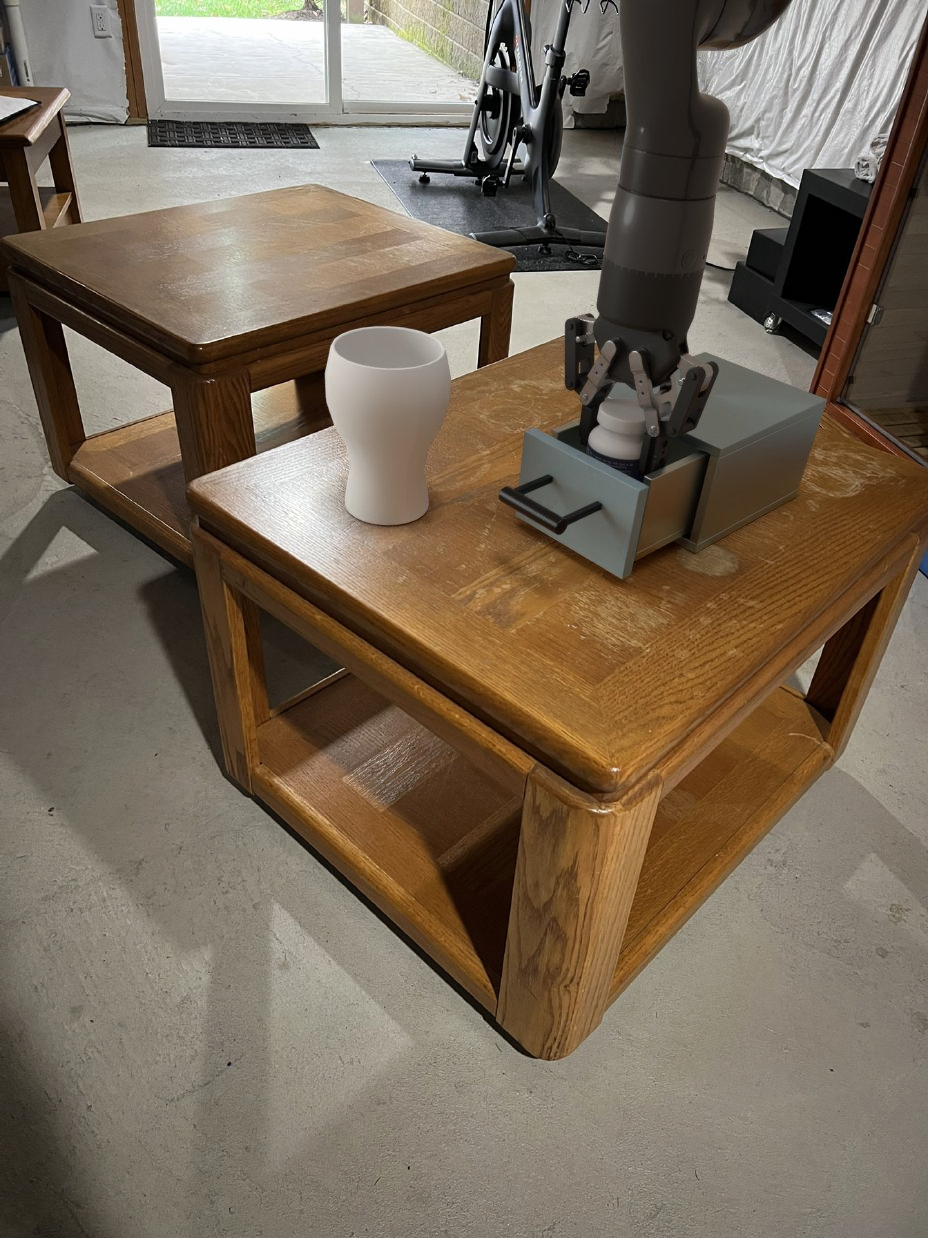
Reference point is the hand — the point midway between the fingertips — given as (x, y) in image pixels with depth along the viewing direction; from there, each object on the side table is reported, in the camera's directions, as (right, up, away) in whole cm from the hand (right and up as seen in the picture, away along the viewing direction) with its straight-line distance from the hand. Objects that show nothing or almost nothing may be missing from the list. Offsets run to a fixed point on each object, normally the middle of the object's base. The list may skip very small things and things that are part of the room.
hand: (618, 457), depth 79 cm
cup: (-20, -3, +7) cm, 22 cm away
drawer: (-1, -6, +4) cm, 7 cm away
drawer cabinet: (+9, -2, +12) cm, 15 cm away
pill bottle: (0, -5, +3) cm, 6 cm away
